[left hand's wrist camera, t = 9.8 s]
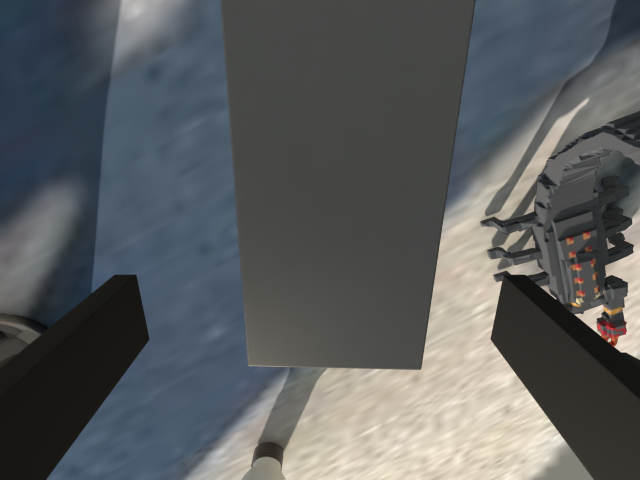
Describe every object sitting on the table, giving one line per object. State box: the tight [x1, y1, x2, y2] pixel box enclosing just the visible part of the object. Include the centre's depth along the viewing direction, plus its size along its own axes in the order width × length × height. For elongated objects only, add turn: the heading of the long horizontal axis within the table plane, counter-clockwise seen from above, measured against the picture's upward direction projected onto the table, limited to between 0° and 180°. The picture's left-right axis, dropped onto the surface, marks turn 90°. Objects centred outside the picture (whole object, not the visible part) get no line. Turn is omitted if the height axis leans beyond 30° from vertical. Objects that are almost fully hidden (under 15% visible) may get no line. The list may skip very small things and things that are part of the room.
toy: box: [480, 111, 640, 347], centre depth 29 cm, size 13×27×18 cm, turn 21°
